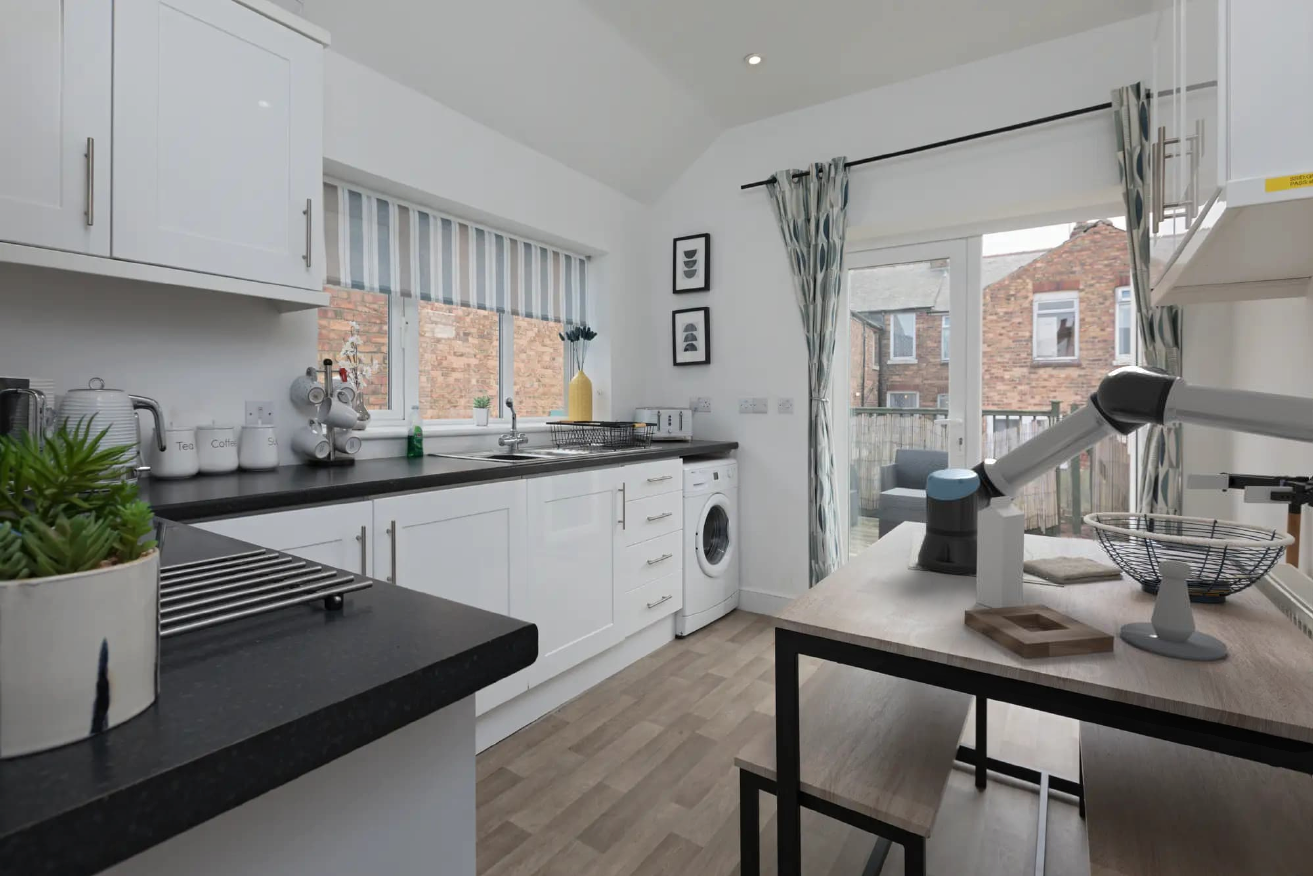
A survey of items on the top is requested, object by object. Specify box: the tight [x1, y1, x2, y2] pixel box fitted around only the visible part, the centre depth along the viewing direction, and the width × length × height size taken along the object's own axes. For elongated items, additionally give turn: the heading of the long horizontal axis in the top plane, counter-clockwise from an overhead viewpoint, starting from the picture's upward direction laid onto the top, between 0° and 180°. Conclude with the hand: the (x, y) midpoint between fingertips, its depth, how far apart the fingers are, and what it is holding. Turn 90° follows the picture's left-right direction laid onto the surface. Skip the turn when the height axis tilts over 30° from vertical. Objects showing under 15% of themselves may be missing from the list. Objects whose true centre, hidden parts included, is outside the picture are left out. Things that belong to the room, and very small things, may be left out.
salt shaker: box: [1150, 560, 1196, 642], centre depth 107 cm, size 6×6×13 cm
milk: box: [975, 496, 1026, 608], centre depth 128 cm, size 6×6×22 cm
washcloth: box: [1023, 555, 1124, 585], centre depth 148 cm, size 12×18×3 cm, turn 103°
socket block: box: [964, 604, 1115, 660], centre depth 112 cm, size 16×16×2 cm
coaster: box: [1119, 621, 1228, 662], centre depth 108 cm, size 14×14×1 cm
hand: (1215, 487), depth 112 cm, fingers open, 13 cm apart
